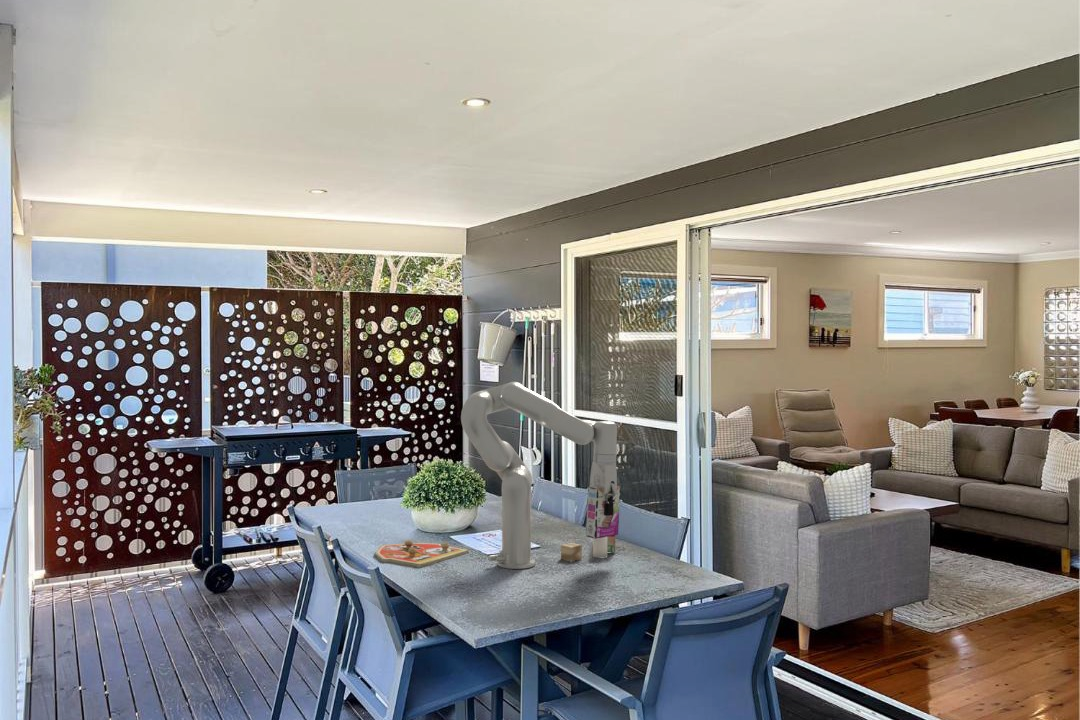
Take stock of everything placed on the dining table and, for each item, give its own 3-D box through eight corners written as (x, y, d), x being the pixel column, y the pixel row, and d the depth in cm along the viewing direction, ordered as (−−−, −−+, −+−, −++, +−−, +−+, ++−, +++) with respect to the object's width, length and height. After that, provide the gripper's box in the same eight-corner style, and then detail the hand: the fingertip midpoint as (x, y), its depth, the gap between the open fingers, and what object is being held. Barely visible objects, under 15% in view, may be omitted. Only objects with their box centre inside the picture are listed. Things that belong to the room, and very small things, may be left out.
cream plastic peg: (597, 558, 293) (598, 538, 293) (590, 555, 298) (590, 535, 298) (610, 557, 296) (610, 536, 296) (602, 554, 300) (602, 534, 300)
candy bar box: (596, 539, 278) (597, 488, 277) (585, 536, 281) (586, 486, 281) (619, 535, 285) (620, 485, 285) (608, 532, 289) (609, 483, 289)
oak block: (571, 562, 289) (571, 547, 289) (560, 559, 292) (561, 544, 292) (581, 559, 292) (581, 545, 292) (571, 557, 296) (571, 542, 296)
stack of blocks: (598, 540, 322) (598, 507, 322) (614, 540, 322) (615, 507, 322) (597, 553, 301) (597, 518, 301) (615, 554, 301) (615, 519, 300)
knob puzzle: (417, 570, 278) (417, 556, 278) (352, 558, 294) (352, 545, 294) (472, 552, 303) (472, 540, 303) (409, 542, 319) (409, 530, 319)
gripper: (581, 456, 289) (579, 509, 289) (609, 462, 273) (608, 519, 274) (600, 455, 292) (598, 508, 292) (629, 461, 277) (627, 517, 277)
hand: (603, 512), depth 283 cm, fingers closed on candy bar box, 5 cm apart
